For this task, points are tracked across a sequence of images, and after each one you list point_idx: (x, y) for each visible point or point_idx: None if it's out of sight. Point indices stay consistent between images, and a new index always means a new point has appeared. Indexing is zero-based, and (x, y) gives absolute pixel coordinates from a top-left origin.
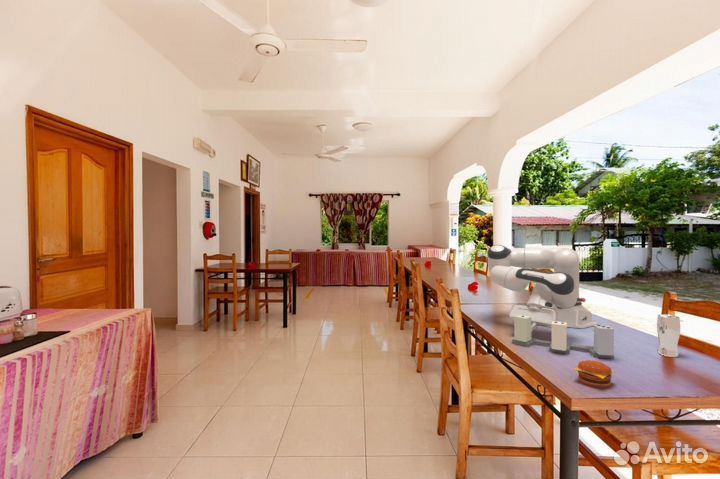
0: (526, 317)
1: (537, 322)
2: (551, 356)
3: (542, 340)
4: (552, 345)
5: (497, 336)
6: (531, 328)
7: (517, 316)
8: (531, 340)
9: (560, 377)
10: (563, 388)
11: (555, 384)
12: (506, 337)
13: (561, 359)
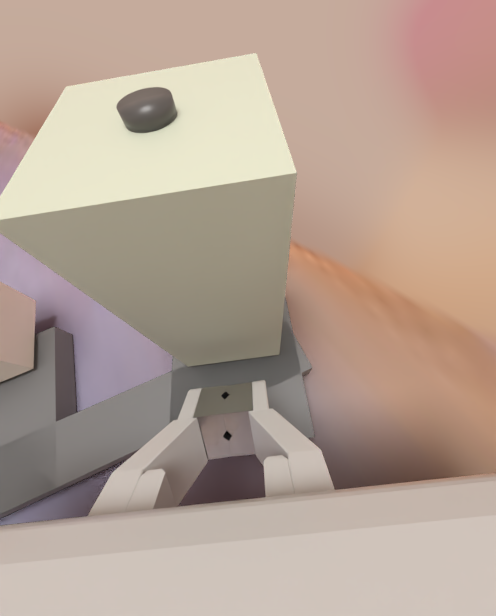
0: (75, 124)
1: (37, 525)
2: (53, 275)
3: (125, 448)
4: (10, 291)
5: (451, 336)
6: (181, 417)
7: (227, 76)
8: (189, 368)
9: (16, 163)
10: (10, 133)
11: (26, 134)
12: (401, 370)
13: (11, 276)
